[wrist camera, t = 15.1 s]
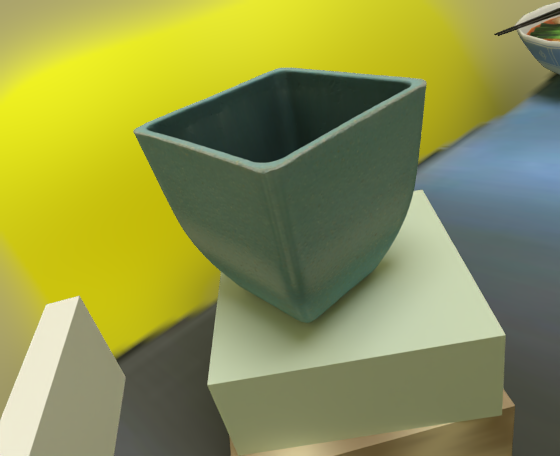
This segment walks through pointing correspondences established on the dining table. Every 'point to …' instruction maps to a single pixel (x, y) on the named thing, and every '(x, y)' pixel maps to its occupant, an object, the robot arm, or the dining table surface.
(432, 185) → the dining table surface
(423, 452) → the maple block
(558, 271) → the dining table surface
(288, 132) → the flower pot
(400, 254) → the sage block
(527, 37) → the ramen bowl
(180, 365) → the dining table surface
